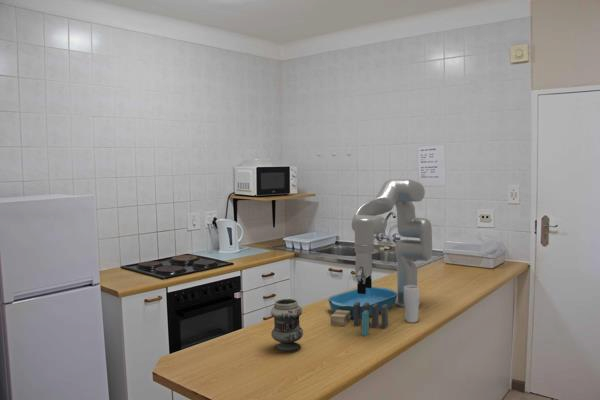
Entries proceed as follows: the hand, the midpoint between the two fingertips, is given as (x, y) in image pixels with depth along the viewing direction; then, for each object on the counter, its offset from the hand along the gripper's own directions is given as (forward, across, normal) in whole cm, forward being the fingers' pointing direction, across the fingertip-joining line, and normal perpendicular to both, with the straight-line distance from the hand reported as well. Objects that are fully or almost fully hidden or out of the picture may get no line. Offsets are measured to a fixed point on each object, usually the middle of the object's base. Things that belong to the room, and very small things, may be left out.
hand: (364, 290), depth 198 cm
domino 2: (+18, -11, -2) cm, 21 cm away
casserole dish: (+18, -33, -9) cm, 39 cm away
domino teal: (+18, 0, 0) cm, 18 cm away
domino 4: (+18, -11, +6) cm, 22 cm away
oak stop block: (+18, -11, -14) cm, 25 cm away
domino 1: (+18, -11, -6) cm, 22 cm away
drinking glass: (+18, -22, +15) cm, 32 cm away
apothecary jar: (+18, +24, -24) cm, 38 cm away
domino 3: (+18, -11, +2) cm, 21 cm away
